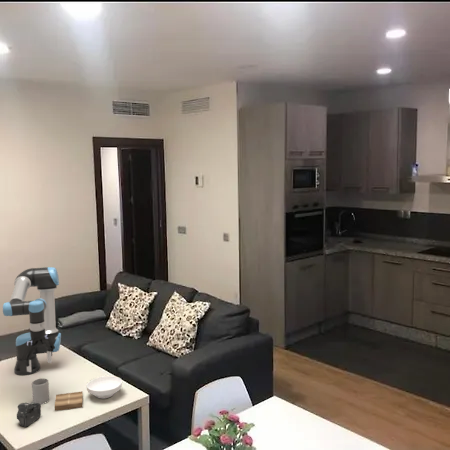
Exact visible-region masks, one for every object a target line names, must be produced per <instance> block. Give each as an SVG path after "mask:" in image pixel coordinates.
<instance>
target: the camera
mask: <svg viewBox="0 0 450 450" xmlns="http://www.w3.org/2000/svg"><path fill="white" fill-rule="evenodd" d="M41 408H42V404H39V403H35V402H33V401H32V402H21V403H19V404H18V405H17V409H18V410H17V413H16V419H17V420H18V421H19V425H20V426H21V427H29V426H30V425H32V424H33V423H35V421H37V420H38V419H39V418H40V417H41V415H42V413H41V412H42V409H41Z"/></svg>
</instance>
